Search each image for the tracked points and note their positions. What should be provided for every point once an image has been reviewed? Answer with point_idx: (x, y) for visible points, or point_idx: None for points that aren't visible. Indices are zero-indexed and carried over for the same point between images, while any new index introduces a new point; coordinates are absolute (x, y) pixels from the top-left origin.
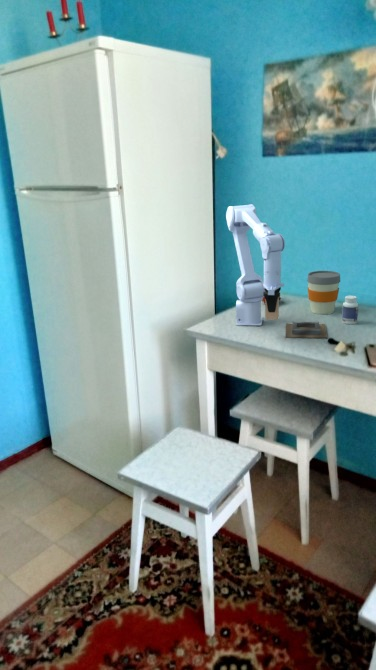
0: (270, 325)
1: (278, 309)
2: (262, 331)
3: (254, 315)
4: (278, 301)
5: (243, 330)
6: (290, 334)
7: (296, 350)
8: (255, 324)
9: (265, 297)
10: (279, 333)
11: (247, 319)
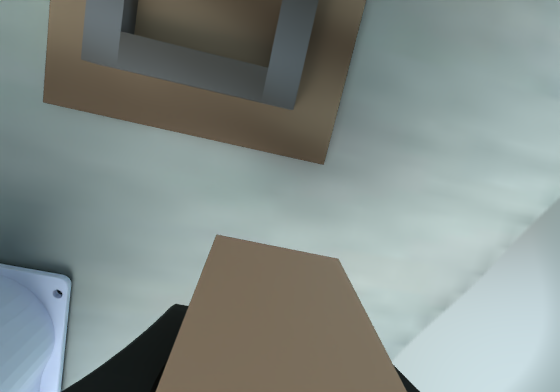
0: (61, 214)
1: (292, 289)
2: (181, 280)
3: (8, 360)
4: (355, 383)
5: None
6: (293, 123)
7: (541, 142)
8: (65, 314)
9: None
10: (233, 184)
11: (29, 381)
